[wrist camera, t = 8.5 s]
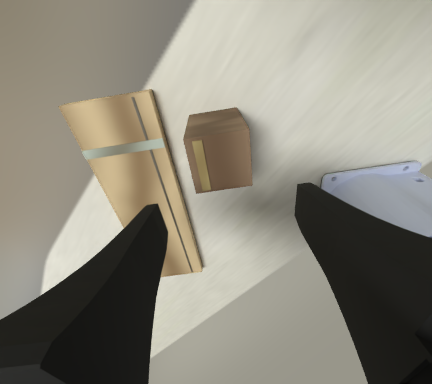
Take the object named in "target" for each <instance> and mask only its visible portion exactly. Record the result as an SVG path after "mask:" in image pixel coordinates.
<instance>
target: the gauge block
mask: <svg viewBox="0 0 432 384" xmlns="http://www.w3.org/2000/svg"><path fill="white" fill-rule="evenodd" d="M183 140H184V145H185V149H186V153H187V157H188V161H189V165H190V170H191V174H192V178H193V182H194V186H195V190H196V194H197V193H204V192H211V191H218V190H224V189H231V188H238V187H245V186H252V168H251V150H250V132H249V128H248V126H247V124H246V123H245V121H244V119H243V118H242V116H241V114H240V112H239V111H238V109H237V107H236V108H230V109H224V110H217V111H211V112H205V113H199V114H193V115H189V118H188V122H187V126H186V130H185V135H184V139H183Z"/></svg>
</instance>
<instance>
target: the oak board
mask: <svg viewBox="0 0 432 384" xmlns="http://www.w3.org/2000/svg"><path fill="white" fill-rule="evenodd" d="M59 108H60V110H61V112H62V114H63V116H64V118H65V119H66V121H67V123H68V125H69V127H70V129H71V131H72V133H73V135H74V136H75V138H76V140H77V142H78V144H79V146H80V147H81V149H82V153H83V155H84V156H85V158H86V159H87V161H88V162H89V164H90V166H91V168H92V170H93V172H94V174H95V175H96V177H97V179H98V181H99V183H100V185H101V187H102V188H103V190H104V192H105V194H106V196H107V198H108V200H109V201H110V203H111V205H112V207H113V209H114V211H115V213H116V215H117V216H118V218H119V220H120V222H121V224H122V226H123V228H125V227H126V226H127V225H128V224H129V223H130V222H131V220H132V219H133V218H134V217H135V216H136V215H137V214H138V213H139V212H140V211H141V210H142V209H143V208H144V207H145V206H146V205H150V204H157V203H158V205H159V208H160V211H161V213H162V216H163V219H164V221H165V224H166V227H167V230H168V242H167V251H166V255H165V260H164V264H163V269H162V273H161V277H165V276H173V275H180V274H188V273H196V272H202V262H201V259H200V255H199V252H198V248H197V245H196V241H195V238H194V235H193V231H192V228H191V224H190V221H189V217H188V214H187V210H186V207H185V203H184V200H183V196H182V193H181V190H180V186H179V183H178V179H177V176H176V172H175V169H174V165H173V162H172V158H171V155H170V151H169V148H168V144H167V141H166V138H165V134H164V131H163V127H162V124H161V120H160V117H159V113H158V110H157V106H156V103H155V99H154V96H153V93H152V89H150V90H144V91H138V92H132V93H127V94H120V95H115V96H109V97H103V98H97V99H91V100H85V101H79V102H73V103H68V104H64V105H61V106H59Z"/></svg>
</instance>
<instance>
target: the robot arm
mask: <svg viewBox="0 0 432 384" xmlns="http://www.w3.org/2000/svg"><path fill="white" fill-rule="evenodd" d="M421 165H422V164H421V163H420V162H418V161H412V162H405V163H398V164H391V165H385V166H378V167H371V168H364V169H357V170H351V171H344V172H337V173H330V174H326V175H325V176H324V177H323V179H322V185H321V188H319V187H318V186H316V185H314V184H312V183H303V184H297V195H296V205H295V218H296V220H297V223H298V225H299V228H300V230H301V233H302V234H303V236H304V238H305V240H306V242H307V243H308V245H309V247H310V249H311V250H312V252H313V254H314V256H315V257H316V259H317V261H318V262H319V264H320V266H321V268H322V270H323V272H324V273H325V275H326V277H327V280H328V282H329V284H330V286H331V289H332V291H333V293H334V295H335V298H336V300H337V302H338V305H339V307H340V310H341V312H342V314H343V317H344V319H345V322H346V324H347V327H348V330H349V332H350V335H351V337H352V340H353V342H354V345H355V348H356V350H357V353H358V356H359V359H360V361H361V364H362V367H363V370H364V372H365V376H366V379H367V382H368V384H432V179H431V178H429V177H428V176H426V175H424V174H422V173H420V172H419V170H420V168H421ZM404 167H405V168H404ZM333 177H334V179H332V178H333ZM167 242H168V230H167V227H166V224H165V221H164V219H163V216H162V213H161V211H160V208H159V205H158V203H157V204H150V205H146V206H145V207H144V208H143V209H142V210H141V211H140V212H139V213H138V214H137V215H136V216H135V217H134V218H133V219H132V220H131V222H130V223H129V224H128V225H127V226H126V227H125V228H124V229H123V230H122V231H121V232H120V233H119V234H118V235H117V236H116V237H115V238H114V239H113V240H112V241H111V242H110V243H109V244H108V245H107V246H105V247H104V248H103V249H102V250H101V251H100V252H99V253H98V254H96V255H95V256H94V257H93V258H92V259H90V260H89V261H88V262H87V263H86V264H84V265H83V266H82V267H81V268H79V269H78V270H77V271H75V272H74V273H72V274H71V275H70V276H68V277H67V278H66V279H64V280H63V281H62V282H60V283H59V284H57V285H56V286H54V287H53V288H51V289H50V290H48V291H47V292H45V293H44V294H42V295H41V296H39V297H38V298H36V299H35V300H33V301H31V302H30V303H28V304H27V305H25V306H23V307H22V308H20V309H18V310H17V311H15V312H13V313H11V314H10V315H8V316H6V317H5V318H3V319H1V320H0V384H148V379H149V363H150V351H151V339H152V329H153V319H154V311H155V303H156V296H157V291H158V286H159V282H160V277H161V273H162V269H163V264H164V260H165V255H166V251H167Z"/></svg>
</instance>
